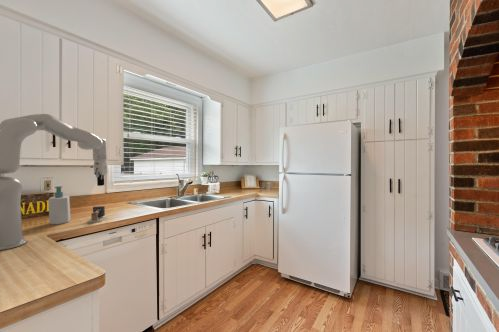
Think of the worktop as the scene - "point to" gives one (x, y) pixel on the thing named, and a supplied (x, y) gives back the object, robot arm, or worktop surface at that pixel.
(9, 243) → the robot arm
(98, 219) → the pipe rig
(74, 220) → the worktop surface
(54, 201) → the soap bottle
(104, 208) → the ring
